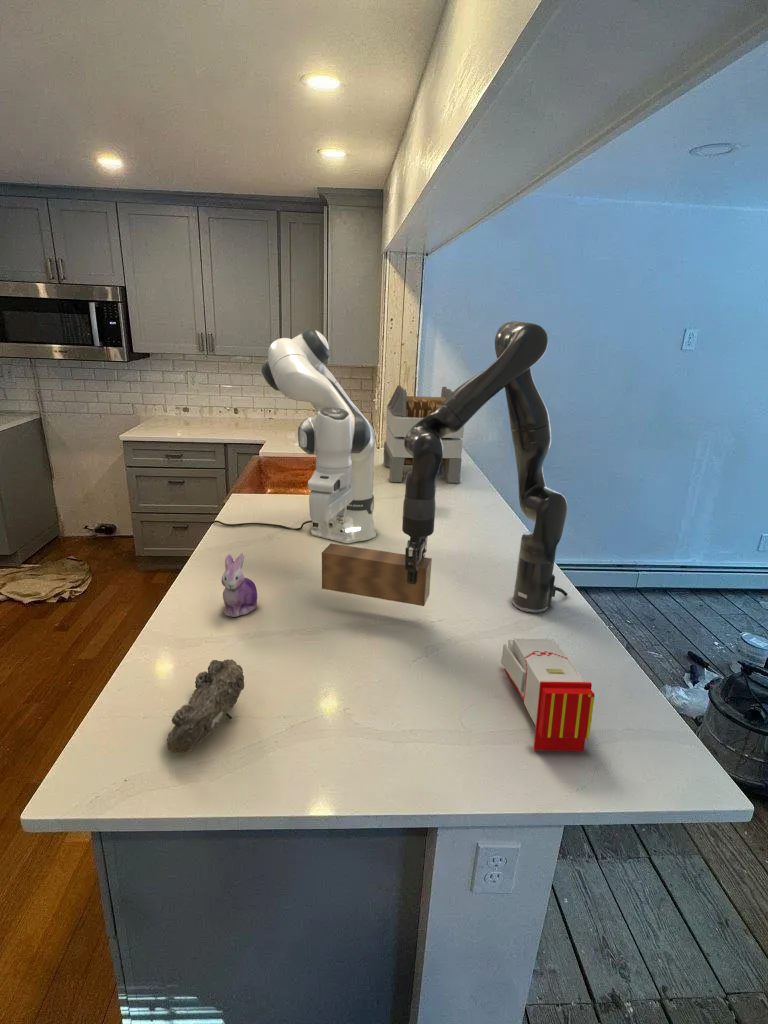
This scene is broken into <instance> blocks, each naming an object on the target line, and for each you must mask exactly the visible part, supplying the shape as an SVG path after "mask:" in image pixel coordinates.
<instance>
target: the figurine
mask: <svg viewBox="0 0 768 1024" xmlns="http://www.w3.org/2000/svg"><path fill="white" fill-rule="evenodd" d="M244 563H245V554H244V553H240V554H239V555H238V556H237V558H236V559H235V560H234V558H233V557H232V555H231V554H227V555H226V556H225V560H224V564H225V565H224V566H225V567H224V568H225V570H224V572H223V574H222V576H221V579H220V580H221V584H222V586H223V587H224V589H223V591H222V599H223V603H224V611H223V613H224V615H225V616H228V617H234V618H236V617H239V616H245V615H248V614H249V613H251V612H253V611H254V610H256V609H257V606H258V590H257V589H258V588H257V586H256V584H255V583H254V581H253V580H252V579H250V578H248V577H245V575H244V573H243V571H242V569H243V566H244Z"/></svg>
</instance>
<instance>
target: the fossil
mask: <svg viewBox="0 0 768 1024" xmlns="http://www.w3.org/2000/svg"><path fill="white" fill-rule="evenodd" d="M243 670H244V669H243V667H242V665H240V664H237V662H236V661H235V660H234V659H232V658H231V659H227V658H226V659H224V660H223V661H222V660H217V659H212V660H211V661H210V663H209V665H208V666H207V671H201V672H199V673H198V674H197V675H196V676H195V680H194V684H195V685H194V687H195V689H194V690H193V693H192V694H191V697H190V698H189V700H188V704H184V705H182V706H181V707H180V709H177V710H176V711H175V713H174V715H173V716H172V718H171V723H172V724H173V727H172V730H171V731H170V732H168V734H167V738H166V741H167V742H166V745H167V749H168V750H169V751H173V752H174V753H176V754H178V753H182V752H188V751H189V752H192V751H193V750H195V748H196V747H197V746H199V744H200V743H201V742H203V741H204V740H205V739H206V738H207V737H208V736H209V735H210V734H211V733H212V732H214V730H215V729H217V727H218V726H219V724H220V722H221V721H222V720H223V719H224V718H225V716H226V717H227V719H229V720H233V717H232V715H230V714H229V710H230V709H231V708H234V706H235V704H236V703H237V702H238V699H239V697H240V695H241V693H242V691H243V690H245V689H244V688H245V675H244V671H243Z"/></svg>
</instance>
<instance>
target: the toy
mask: <svg viewBox="0 0 768 1024" xmlns="http://www.w3.org/2000/svg"><path fill="white" fill-rule="evenodd" d="M500 661H501V662H500V663H501V664H502V666H503V668H504V671H505V673H506V674H507V676H508V678H509V679H510V681H511V684H512V685H513V686H514V688H515V691H517V693H518V695H519V696H520V699H521V700H522V702H523V704H524V706H525V708H526V711H527V712H528V714H529V716H530V718H531V720H532V723H533V724H534V726H535V731H534V741H533V750H534V751H554V752H555V751H556V752H557V751H558V752H564V751H565V752H584V751H585V743H586V739H590V737H591V736H590V735H591V727H592V718H593V710H594V702H595V692H593V690H592V685H593V684H592V682H590V681H585V679H584V678H583V676H582V675H581V674H580V673H579V672H578V670H577V669H576V668H575V666H574V665H573V663H572V662H571V661H570V659H569V658H568V657H567V655H566V654H565V653H564V651H563V650H562V649H561V648H560V646H559V644H558V643H557V642H556V640H554V638H517V637H515V638H512V639H508V643H507V644H503V647H502V653H501V660H500Z"/></svg>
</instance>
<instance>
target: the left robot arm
mask: <svg viewBox="0 0 768 1024" xmlns="http://www.w3.org/2000/svg"><path fill="white" fill-rule="evenodd" d="M330 353H331V349H330V346H329V342H328V341H327V338H326V337H325V336H324V334H322V333H321V332H320V331H318V330H317V329H316V328H312V327H310V328H307V329H305V330H302V331H301V333H300V334H297V335H296V336H295V337H292V338H289V337H281V338H276V339H275V340H274V341H273V342H271V344H270V345H269V347H268V350H267V358H266V359H265V361H264V362H263V363H262V365H261V370H260V371H261V374H262V377H263V379H264V381H265V382H266V383H267V385H269V387H271V388H272V389H273V390H275V391H278V392H281V394H282V395H283V396H284V397H286V398H288V399H290V400H293V401H297V402H305V403H310V404H311V406H312V407H313V408H314V410H315V411H316V413H317V414H316V415H313V416H309V417H306V418H305V419H303V420H302V421H301V422H300V424H299V426H298V427H297V441H298V446H299V448H300V449H301V450H302V451H303V452H304V453H305V454H307V455H311V456H316V460H315V469H314V471H313V473H312V476H311V477H310V479H308V482H307V490H308V491H310V492H309V498H308V506H309V507H308V508H309V509H308V510H309V519H310V520H307V521H304V522H303V523H302V524H301V525H300V527H297V528H296V527H295V528H293V527H289V526H286V525H282V524H277V523H267V522H243V523H241V522H240V523H225V522H222V521H220V520H213V521H211V522H210V525H213V524H220V525H222V526H225V527H241V526H268V527H278V528H282V529H286V530H293V531H301V530H302V529H303V528H304V526H305V525H307V524H310V523H312V528H311V530H310V533H311V536H315V537H319V538H323V539H326V540H330V541H336V542H339V543H343V544H352V543H357V542H365V541H368V540H372V539H373V538H375V537H376V535H377V532H376V528H375V523H374V513H373V512H374V509H375V496H374V474H375V473H374V467H375V466H374V465H375V444H376V443H375V442H376V432H375V429H374V427H373V426H372V424H371V423H370V422H369V420H368V419H367V418H366V417H365V415H364V414H363V413H362V411H361V410H359V408H358V407H357V406H356V405H355V404H354V403H353V401H352V399H351V398H350V397H349V396H348V394H347V393H346V391H345V390H344V389H343V387H342V385H341V384H340V383H339V381H338V379H336V377H335V376H334V375H333V374H332V372H331V371H330V370H329V368H328V367H327V366H325V365H327V364H328V359H329V358H330Z"/></svg>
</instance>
